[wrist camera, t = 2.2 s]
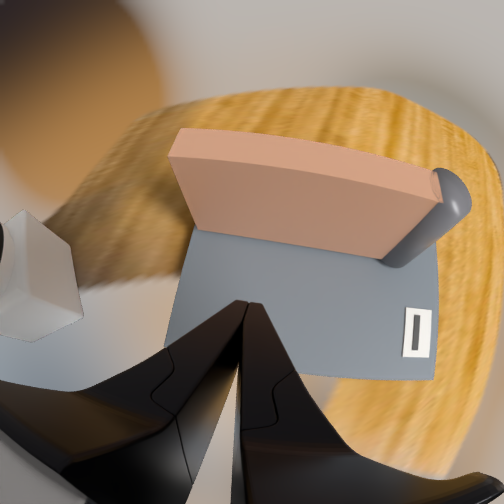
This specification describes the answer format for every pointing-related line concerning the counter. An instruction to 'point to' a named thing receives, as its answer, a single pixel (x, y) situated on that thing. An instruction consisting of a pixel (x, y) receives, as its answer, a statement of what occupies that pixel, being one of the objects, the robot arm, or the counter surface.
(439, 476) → the counter surface
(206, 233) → the label board
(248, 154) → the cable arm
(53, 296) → the medicine bottle
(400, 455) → the counter surface
